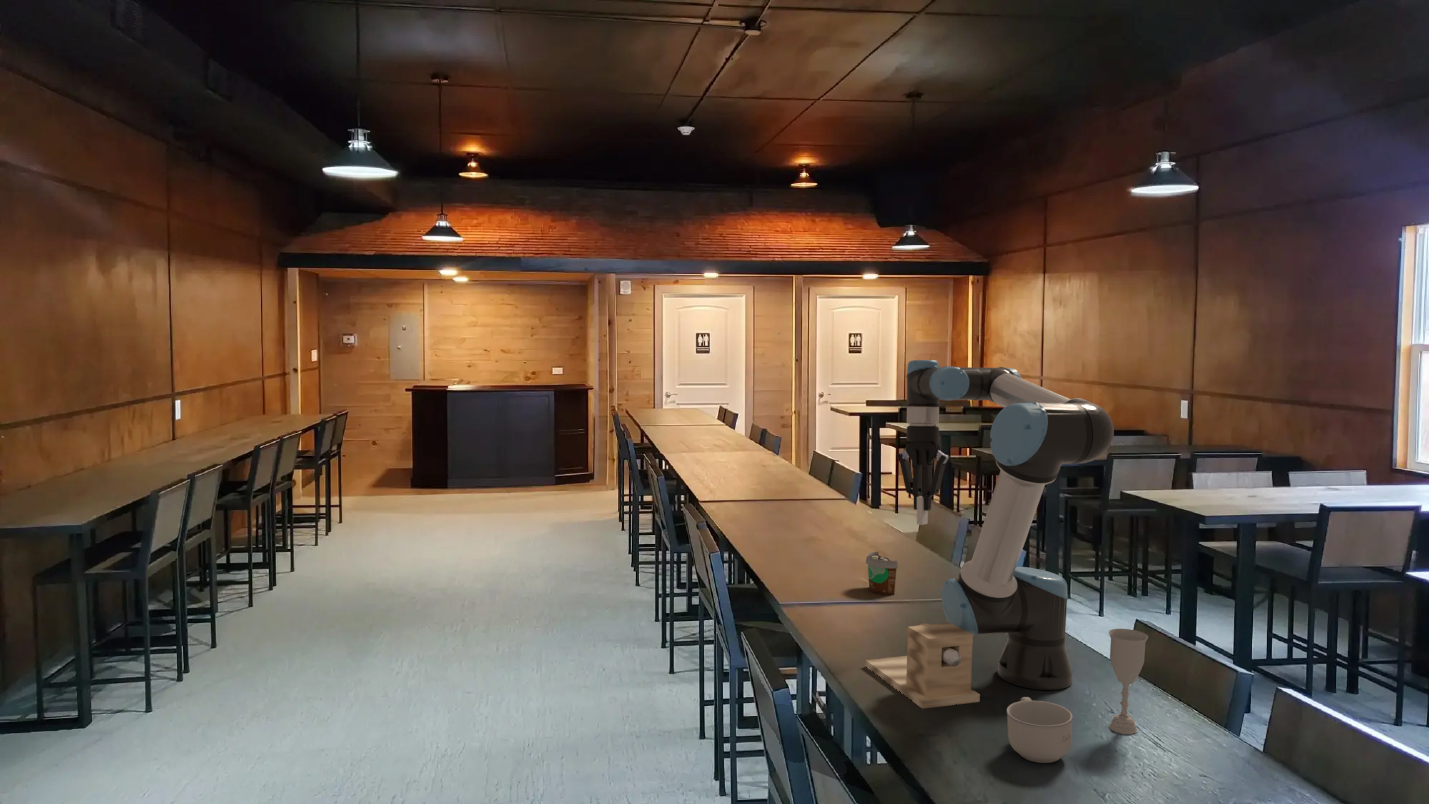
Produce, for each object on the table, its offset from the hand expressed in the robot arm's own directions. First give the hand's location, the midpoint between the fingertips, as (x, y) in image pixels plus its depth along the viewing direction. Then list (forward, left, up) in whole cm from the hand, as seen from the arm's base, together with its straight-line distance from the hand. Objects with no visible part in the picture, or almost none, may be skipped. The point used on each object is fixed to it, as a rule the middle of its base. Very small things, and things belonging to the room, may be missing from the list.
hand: (922, 523), depth 222 cm
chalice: (-54, +19, -28) cm, 63 cm away
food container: (+30, -30, -28) cm, 52 cm away
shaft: (-20, +28, -22) cm, 41 cm away
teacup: (-46, +40, -29) cm, 67 cm away
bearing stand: (-14, +25, -28) cm, 40 cm away
